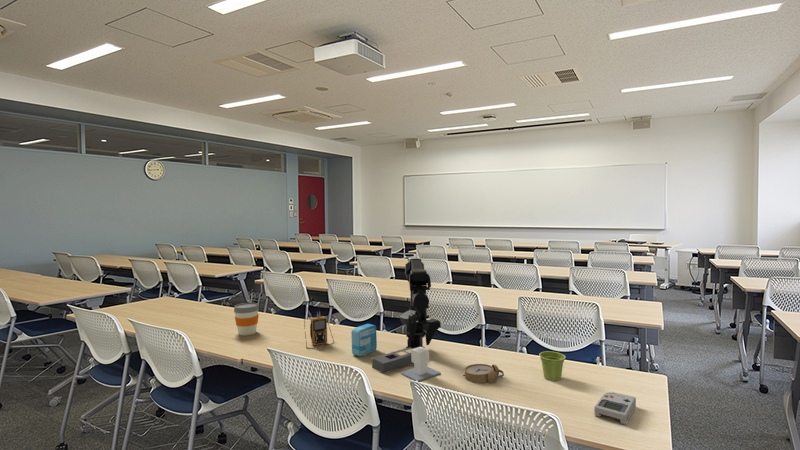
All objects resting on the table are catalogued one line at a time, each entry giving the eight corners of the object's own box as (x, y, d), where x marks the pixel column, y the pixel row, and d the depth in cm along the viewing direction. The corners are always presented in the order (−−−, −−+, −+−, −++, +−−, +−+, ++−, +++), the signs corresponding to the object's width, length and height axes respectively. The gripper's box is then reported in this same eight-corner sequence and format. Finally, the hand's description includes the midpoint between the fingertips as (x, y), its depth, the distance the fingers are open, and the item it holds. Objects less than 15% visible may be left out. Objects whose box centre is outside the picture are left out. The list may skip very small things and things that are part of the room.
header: (410, 356, 185) (409, 346, 184) (421, 361, 178) (421, 351, 178) (372, 367, 172) (372, 357, 172) (383, 373, 166) (383, 363, 166)
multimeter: (309, 352, 192) (308, 309, 191) (304, 345, 201) (302, 304, 200) (339, 346, 199) (338, 305, 198) (333, 340, 208) (332, 301, 207)
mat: (424, 366, 172) (424, 365, 172) (440, 373, 164) (440, 372, 164) (401, 374, 165) (401, 372, 165) (417, 382, 157) (417, 380, 157)
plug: (421, 369, 168) (420, 346, 168) (429, 372, 164) (429, 349, 164) (411, 372, 165) (411, 349, 165) (419, 376, 161) (419, 352, 161)
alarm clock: (467, 363, 168) (504, 361, 162) (469, 375, 168) (506, 373, 162) (460, 373, 157) (500, 372, 152) (462, 386, 157) (502, 385, 152)
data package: (359, 357, 184) (358, 330, 184) (351, 355, 187) (351, 329, 186) (377, 349, 194) (376, 324, 193) (369, 348, 196) (369, 322, 196)
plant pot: (536, 373, 163) (536, 351, 163) (560, 372, 163) (560, 351, 163) (543, 383, 154) (543, 360, 154) (569, 382, 154) (569, 359, 153)
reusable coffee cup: (264, 331, 226) (263, 304, 225) (245, 337, 216) (243, 309, 215) (249, 328, 233) (248, 301, 232) (229, 334, 222) (228, 306, 222)
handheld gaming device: (636, 408, 135) (636, 396, 135) (626, 427, 124) (625, 414, 124) (606, 400, 141) (606, 389, 141) (594, 418, 129) (593, 406, 129)
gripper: (388, 302, 166) (389, 340, 167) (418, 310, 151) (419, 353, 152) (410, 297, 173) (411, 335, 173) (441, 305, 158) (442, 346, 158)
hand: (420, 342), depth 164 cm, fingers open, 9 cm apart
